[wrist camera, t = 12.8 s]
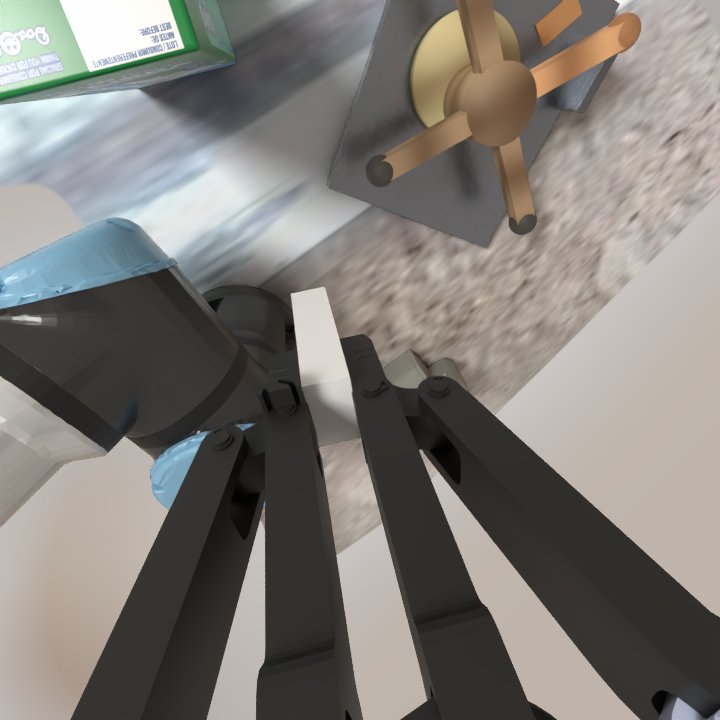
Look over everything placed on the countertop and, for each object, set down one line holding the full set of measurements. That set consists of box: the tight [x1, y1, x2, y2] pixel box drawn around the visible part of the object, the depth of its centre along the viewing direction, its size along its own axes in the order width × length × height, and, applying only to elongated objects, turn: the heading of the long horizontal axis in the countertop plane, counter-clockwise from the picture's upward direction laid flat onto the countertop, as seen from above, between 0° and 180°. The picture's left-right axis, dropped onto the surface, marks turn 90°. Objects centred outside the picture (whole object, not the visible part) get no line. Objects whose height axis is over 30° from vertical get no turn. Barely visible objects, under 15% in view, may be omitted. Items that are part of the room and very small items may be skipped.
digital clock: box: [383, 349, 468, 391], centre depth 56 cm, size 16×9×11 cm, turn 116°
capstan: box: [366, 0, 641, 235], centre depth 36 cm, size 25×25×7 cm
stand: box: [327, 0, 619, 248], centre depth 39 cm, size 24×21×6 cm
